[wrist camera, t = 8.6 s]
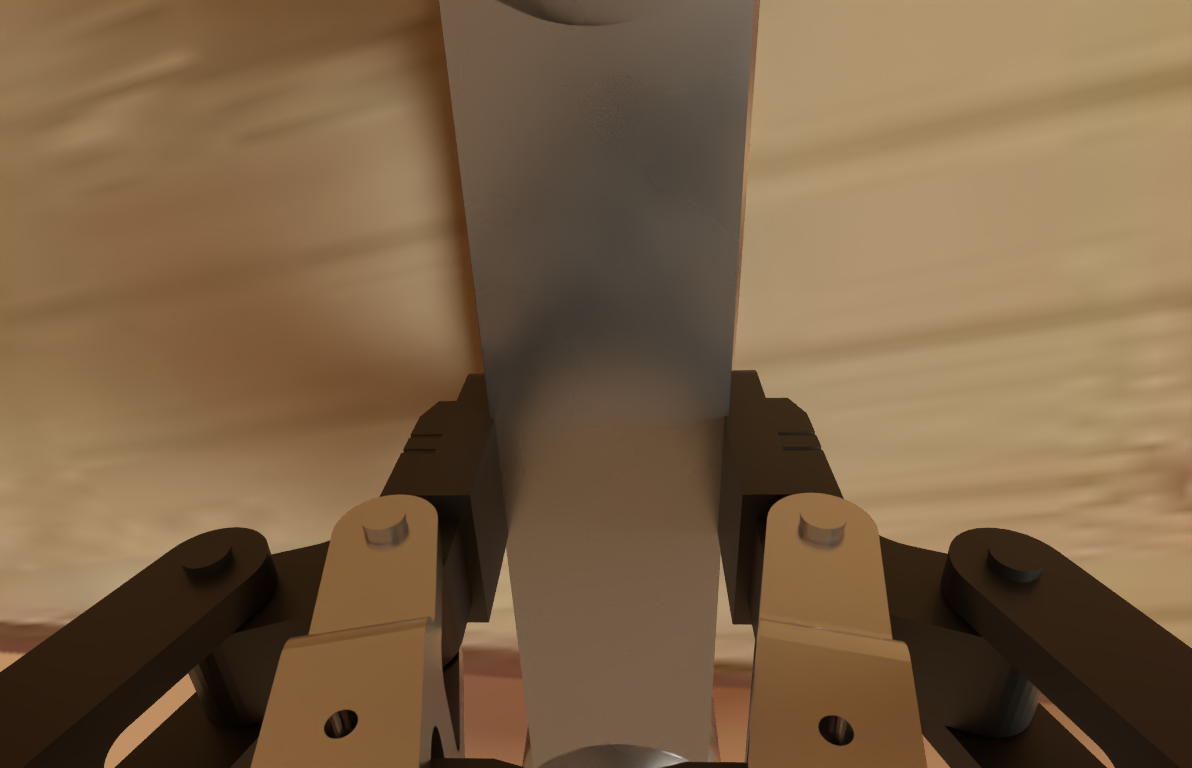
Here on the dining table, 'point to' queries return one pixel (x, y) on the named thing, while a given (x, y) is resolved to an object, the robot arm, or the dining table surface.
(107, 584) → the dining table surface
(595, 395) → the grey knobbed bar
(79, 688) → the robot arm
